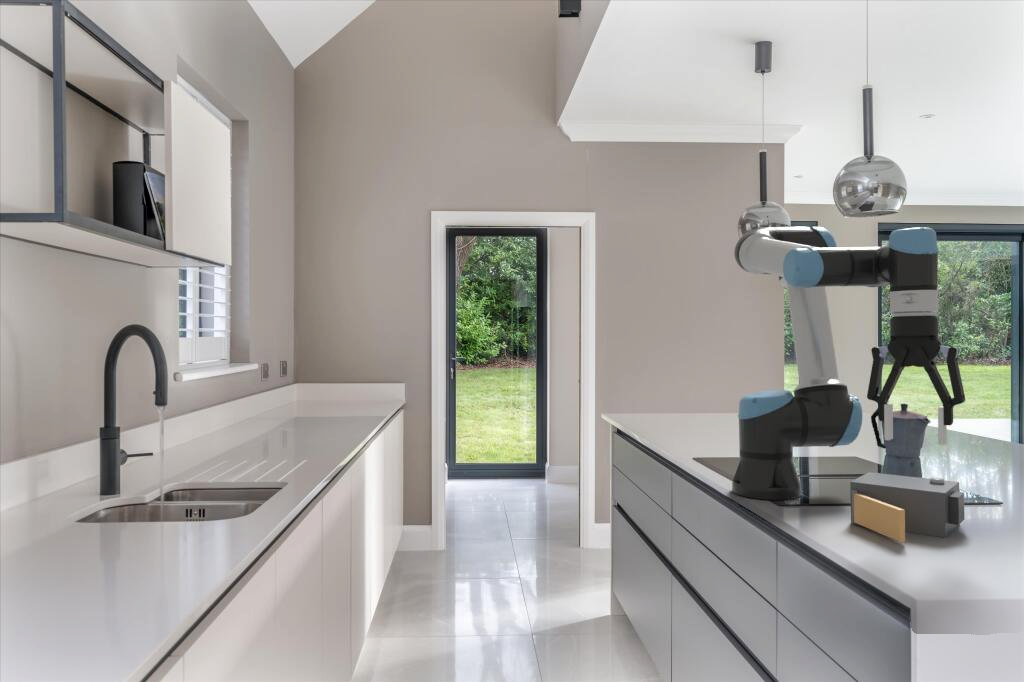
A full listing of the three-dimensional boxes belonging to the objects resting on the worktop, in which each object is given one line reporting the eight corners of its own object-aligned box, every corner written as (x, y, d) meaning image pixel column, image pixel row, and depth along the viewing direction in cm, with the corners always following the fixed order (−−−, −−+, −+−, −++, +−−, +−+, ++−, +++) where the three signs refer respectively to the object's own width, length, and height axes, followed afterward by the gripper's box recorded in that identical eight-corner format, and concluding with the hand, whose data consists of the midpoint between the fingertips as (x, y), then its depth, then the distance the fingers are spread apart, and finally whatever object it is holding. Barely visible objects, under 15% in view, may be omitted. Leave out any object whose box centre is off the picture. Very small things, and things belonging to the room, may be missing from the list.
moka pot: (918, 496, 159) (917, 407, 159) (856, 484, 173) (855, 401, 172) (944, 491, 163) (943, 404, 163) (882, 479, 177) (881, 399, 177)
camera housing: (850, 522, 138) (850, 477, 138) (869, 510, 147) (869, 468, 147) (955, 539, 127) (955, 489, 127) (969, 525, 136) (968, 478, 135)
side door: (851, 523, 138) (850, 489, 138) (855, 522, 138) (855, 489, 138) (899, 544, 124) (899, 507, 124) (905, 543, 124) (904, 507, 124)
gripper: (845, 316, 132) (847, 438, 133) (977, 312, 119) (979, 449, 119) (858, 316, 138) (859, 434, 138) (986, 313, 124) (987, 444, 124)
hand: (915, 441), depth 129 cm, fingers open, 8 cm apart
